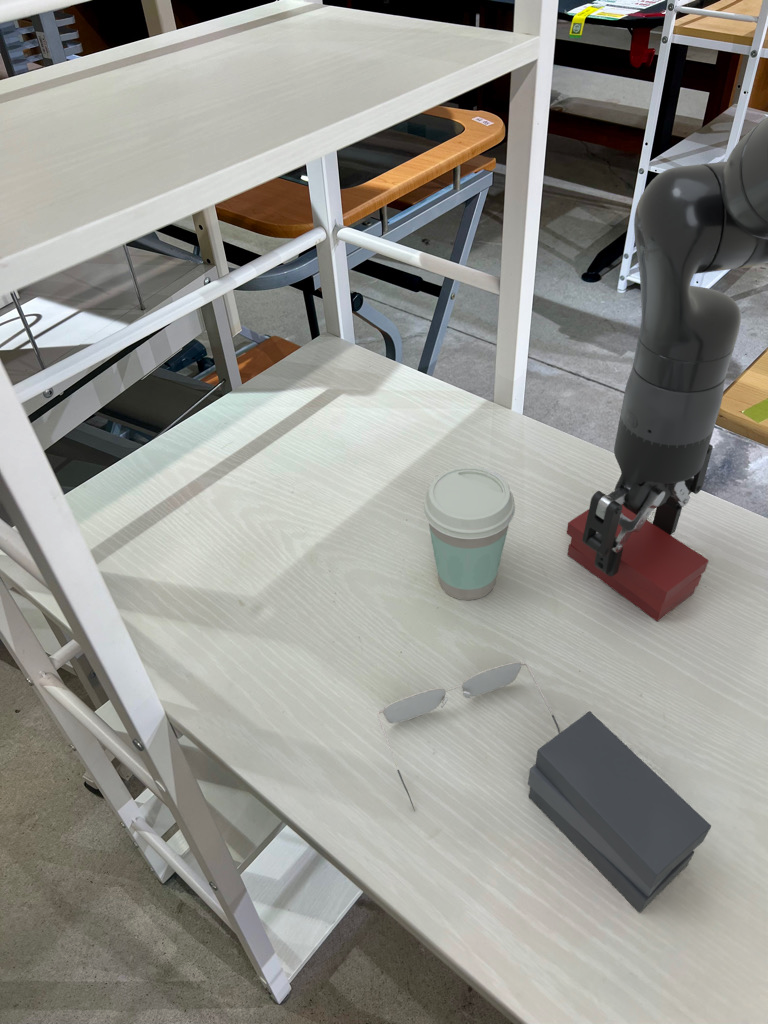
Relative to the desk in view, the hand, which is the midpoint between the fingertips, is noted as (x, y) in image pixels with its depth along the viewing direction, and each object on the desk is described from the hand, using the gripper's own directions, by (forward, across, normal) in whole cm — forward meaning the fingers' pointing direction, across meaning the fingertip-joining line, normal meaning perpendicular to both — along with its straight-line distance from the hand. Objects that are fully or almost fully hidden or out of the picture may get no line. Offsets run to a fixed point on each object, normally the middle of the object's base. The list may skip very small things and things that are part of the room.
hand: (635, 549), depth 73 cm
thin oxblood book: (0, 0, 0) cm, 0 cm away
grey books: (+4, -22, -16) cm, 27 cm away
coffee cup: (+4, -13, +10) cm, 17 cm away
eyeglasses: (+4, -25, -4) cm, 26 cm away
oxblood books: (+4, 0, 0) cm, 4 cm away
